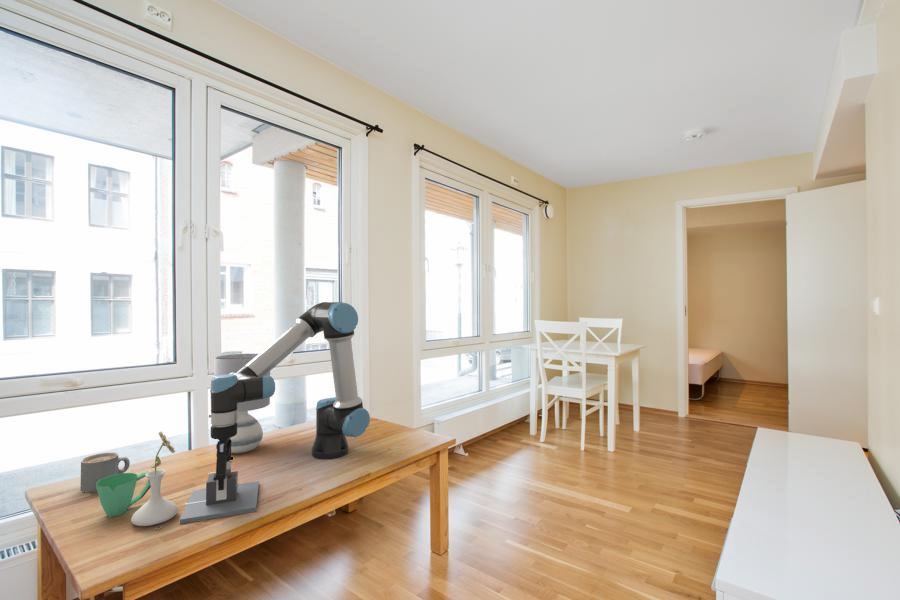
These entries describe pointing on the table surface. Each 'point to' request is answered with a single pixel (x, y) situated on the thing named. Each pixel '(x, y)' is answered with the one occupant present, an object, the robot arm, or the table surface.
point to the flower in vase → (155, 496)
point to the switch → (220, 504)
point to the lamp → (242, 405)
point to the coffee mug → (100, 469)
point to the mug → (119, 492)
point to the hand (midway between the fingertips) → (224, 490)
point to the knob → (231, 488)
